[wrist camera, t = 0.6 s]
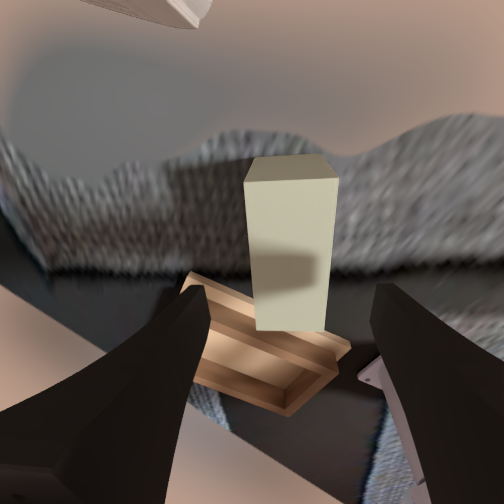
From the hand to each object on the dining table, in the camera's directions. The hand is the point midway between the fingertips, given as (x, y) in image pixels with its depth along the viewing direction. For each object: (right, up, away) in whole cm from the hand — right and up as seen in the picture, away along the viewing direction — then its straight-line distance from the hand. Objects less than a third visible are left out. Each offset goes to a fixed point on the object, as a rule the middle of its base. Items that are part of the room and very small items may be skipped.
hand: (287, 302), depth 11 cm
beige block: (+1, +4, +7) cm, 9 cm away
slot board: (-2, -7, +14) cm, 16 cm away
